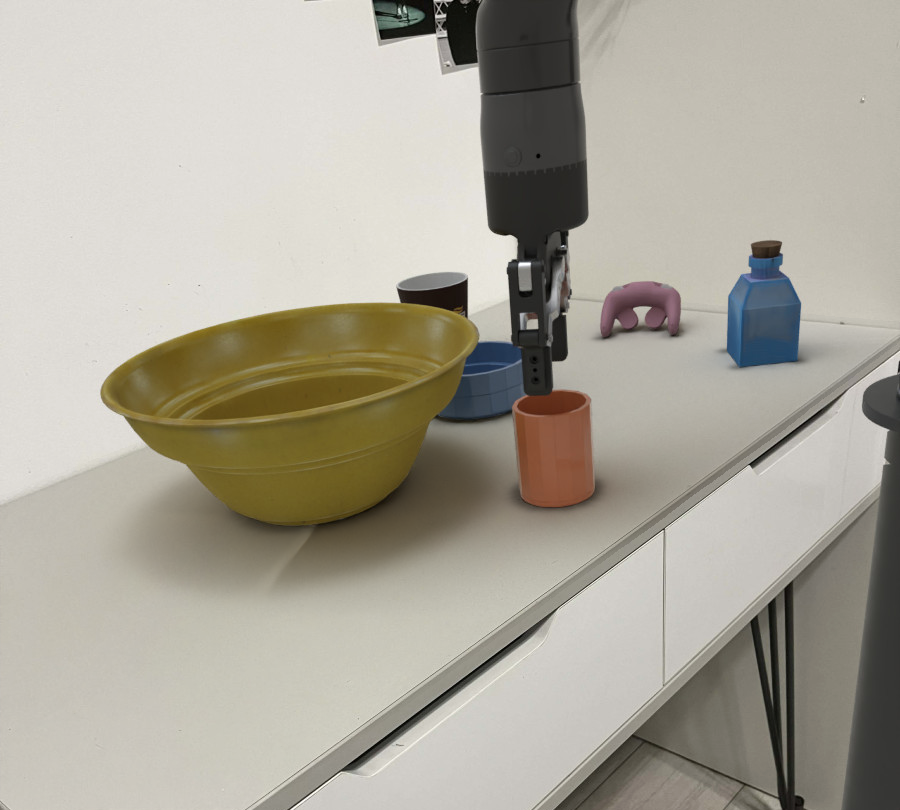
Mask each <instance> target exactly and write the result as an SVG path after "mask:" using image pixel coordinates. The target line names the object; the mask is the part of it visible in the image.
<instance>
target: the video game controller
mask: <svg viewBox="0 0 900 810" xmlns="http://www.w3.org/2000/svg"><path fill="white" fill-rule="evenodd" d="M639 307H640V308H641V307H647V308H650V309H648V310H647V312H646V313H645V316H644V323H645V325H646V326H647V327H648V328H649V329H650V330H658V329H660V328H661V327H662V326H663V325H664V323H665V321H667V328H668V332H669V334H670V335H671V336H675V335H676V334H677V332H678V330H679V327H680V322H681V316H682V315H681V314H682V298H681V295H680V293H679V291H678V290H677V289H676V288H675V287H673V286H671V285H669V284H668V283H662V282H657V281H653V280H646V281H645V280H644V281H632V282H629V283H626V284H623V285H618V286H614V287H613V288H612V289H611V290H610V291H609V292H608V293H607V295H606V296H605V298H604V301H603V304H602V307H601V312H600V323H599V329H600V334H601V336H602V337H603V338H607V337H609V335H610V334H611V332H612V331H613V327H614V325H615V321H616V320H617V321H618V322H619V324H620V325H621V327H622V328H623V329H624V330H626V331H631V330H634V329H635V328H637V326H638V325H639V316H638V314H637V312H636V311H635V310H634V309H635V308H639Z"/></svg>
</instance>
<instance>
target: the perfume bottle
mask: <svg viewBox="0 0 900 810" xmlns="http://www.w3.org/2000/svg"><path fill="white" fill-rule="evenodd" d="M782 245H783V242H782V241H781V240H777V239H776V240H773V239H768V240H767V239H766V240H759V241H754V242H752V243H750V248H751V254H749V256H748V268H750V272H748V273H741V274H740V276H739V277H738V279H737V281H736V282H735V284H734V286H733V287H732V289H731V290H730V292H729V294H728V296H727V323H726V324H727V329H726V352H727V353H728V354H729V356H730V357H731V358H732V359H733V361H734V362H735V364H736V365H737V366H738V367H739V368H743V367H752V366H761V365H772V364H780V363H790V362H798V358H799V345H800V331H801V316H802V315H801V314H802V313H801V312H802V301H801V300H800V297H799V295H798V293H797V291H796V288H795V287H794V285H793V283H792V281H791V279H790V276H787V275H786V274H785V273H784V272H782V271H781V269H780V267H781V266H782V265H783V262H784V253H782V252H781V249H782Z"/></svg>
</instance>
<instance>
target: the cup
mask: <svg viewBox="0 0 900 810" xmlns="http://www.w3.org/2000/svg"><path fill="white" fill-rule="evenodd" d="M511 412H512V423H513V435H514V444H515V445H514V446H515V455H516V467H517V479H518V490H519V491H520V492H519V493H520V497H521V499H522V500H523V501H524V502H525V503H527V504H529V505H533V506H537V507H541V508H542V507H543V508H563V507H568V506H573V505H578V504H579V503H582V502H583V501H586V500H588V499H589V498H591V497H592V496H593V494H594V493H595V491H596V473H595V472H596V471H595V453H594V452H595V451H594V428H593V407H592V398H591V397H590V396H589V395H588V394H587V393H585V392H582V391H579V390H573V389H563V388H561V389H553V390H552V392H551V394H549V395H546V396H528V395H526V396H523V397H521V398H520V399H518V400H516V401H515V402H514V404H513V406H512V410H511Z"/></svg>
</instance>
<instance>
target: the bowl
mask: <svg viewBox="0 0 900 810" xmlns="http://www.w3.org/2000/svg"><path fill="white" fill-rule="evenodd" d="M523 396H526V394H525V392H524V386H523V372H522V358H521V348H518V347H513V344H512V342H511V341H505V340H504V341H503V340H479V341H478V344H477V346H476V347H475V349H474V350H473V352H472V353H471V354H470V355H469V356H468V357H467V358H466V362H465V366H464V370H463V374H462V377H461V380H460V383H459V386H458V388H457V391H456V393H455V395H454V397H453V398H452V400H451V401H450V403H449V404H448V405H447V406H446V407H445V408H444V409H443V410H442V411H441V412H440V413H439V414H437V415H436V416H438V417H441V418H444V419H449V420H458V421H459V420H463V421H464V420H465V421H466V420H467V421H468V420H481V419H487V418H493V417H497V416H499V415H503V414H508V413H509V412H512V406H513V404H514V402H515V401H516V400H518V399H520V398H521V397H523Z"/></svg>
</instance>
